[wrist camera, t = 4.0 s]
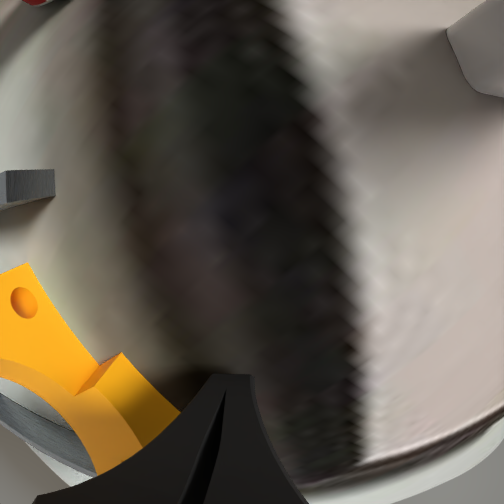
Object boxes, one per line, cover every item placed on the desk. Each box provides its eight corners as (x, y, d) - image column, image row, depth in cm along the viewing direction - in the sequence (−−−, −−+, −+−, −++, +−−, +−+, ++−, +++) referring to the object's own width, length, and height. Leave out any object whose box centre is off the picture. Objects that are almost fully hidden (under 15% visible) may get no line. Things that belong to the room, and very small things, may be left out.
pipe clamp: (222, 443, 10) (200, 556, 4) (163, 456, 11) (132, 544, 5) (45, 238, 8) (-82, 289, 2) (13, 288, 9) (-76, 342, 3)
